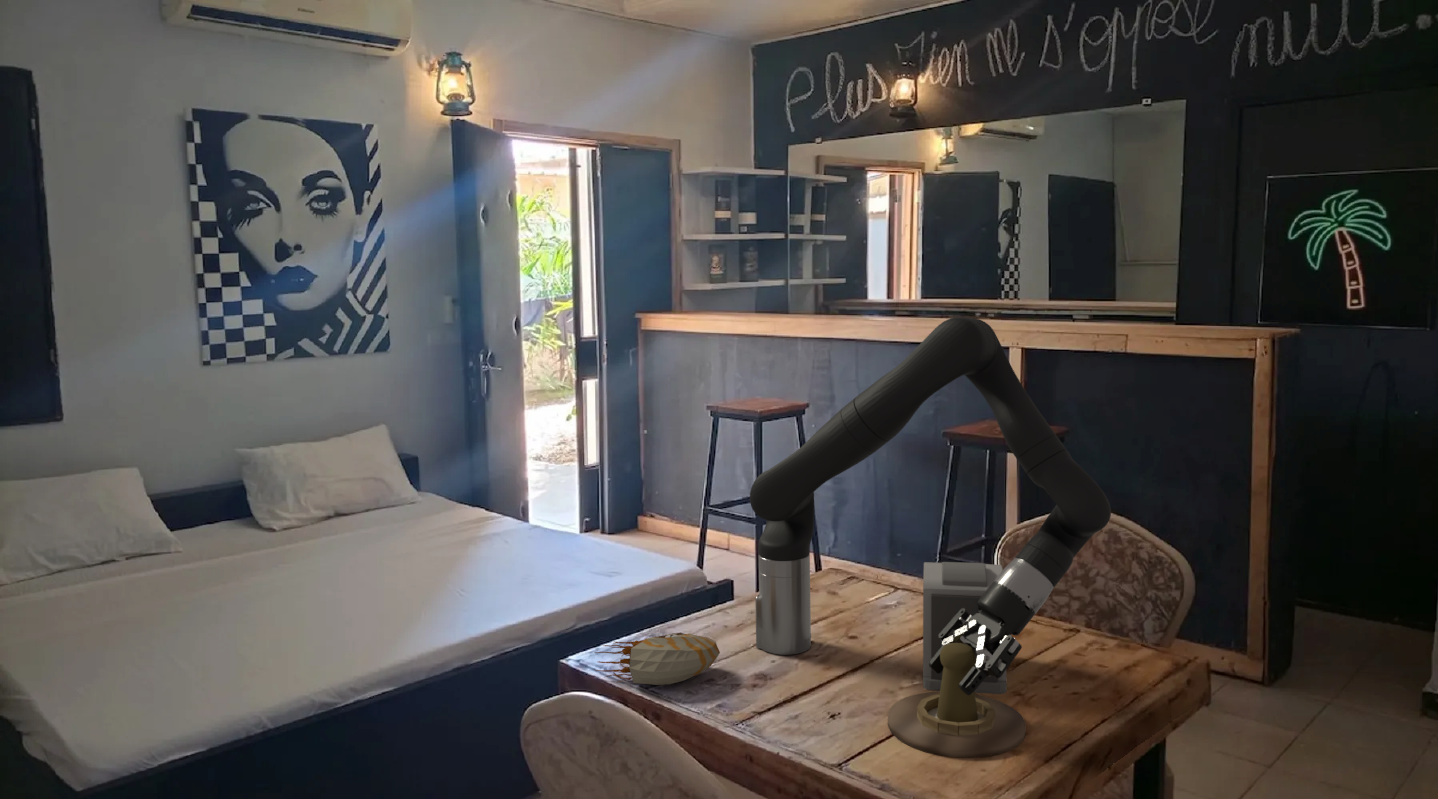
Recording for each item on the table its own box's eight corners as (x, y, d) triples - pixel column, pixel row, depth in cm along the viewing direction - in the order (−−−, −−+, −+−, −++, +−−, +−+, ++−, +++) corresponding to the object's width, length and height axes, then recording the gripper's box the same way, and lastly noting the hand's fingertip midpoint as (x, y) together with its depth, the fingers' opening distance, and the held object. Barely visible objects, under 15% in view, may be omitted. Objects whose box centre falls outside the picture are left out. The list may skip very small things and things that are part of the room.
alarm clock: (1007, 694, 165) (1008, 583, 163) (923, 689, 168) (923, 580, 166) (999, 652, 183) (1000, 551, 181) (923, 648, 186) (923, 549, 184)
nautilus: (581, 694, 171) (613, 664, 185) (705, 697, 165) (729, 666, 180) (577, 646, 170) (610, 621, 185) (702, 648, 165) (726, 621, 179)
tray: (872, 744, 149) (872, 726, 149) (905, 691, 168) (905, 675, 167) (1015, 767, 141) (1015, 749, 141) (1033, 709, 159) (1033, 692, 159)
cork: (979, 710, 157) (980, 640, 155) (976, 727, 151) (976, 655, 149) (939, 705, 159) (939, 636, 157) (934, 722, 153) (934, 650, 151)
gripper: (974, 568, 161) (908, 649, 159) (1028, 594, 147) (957, 683, 145) (1003, 597, 163) (938, 677, 161) (1059, 626, 150) (990, 714, 148)
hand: (947, 680), depth 153 cm, fingers open, 8 cm apart
